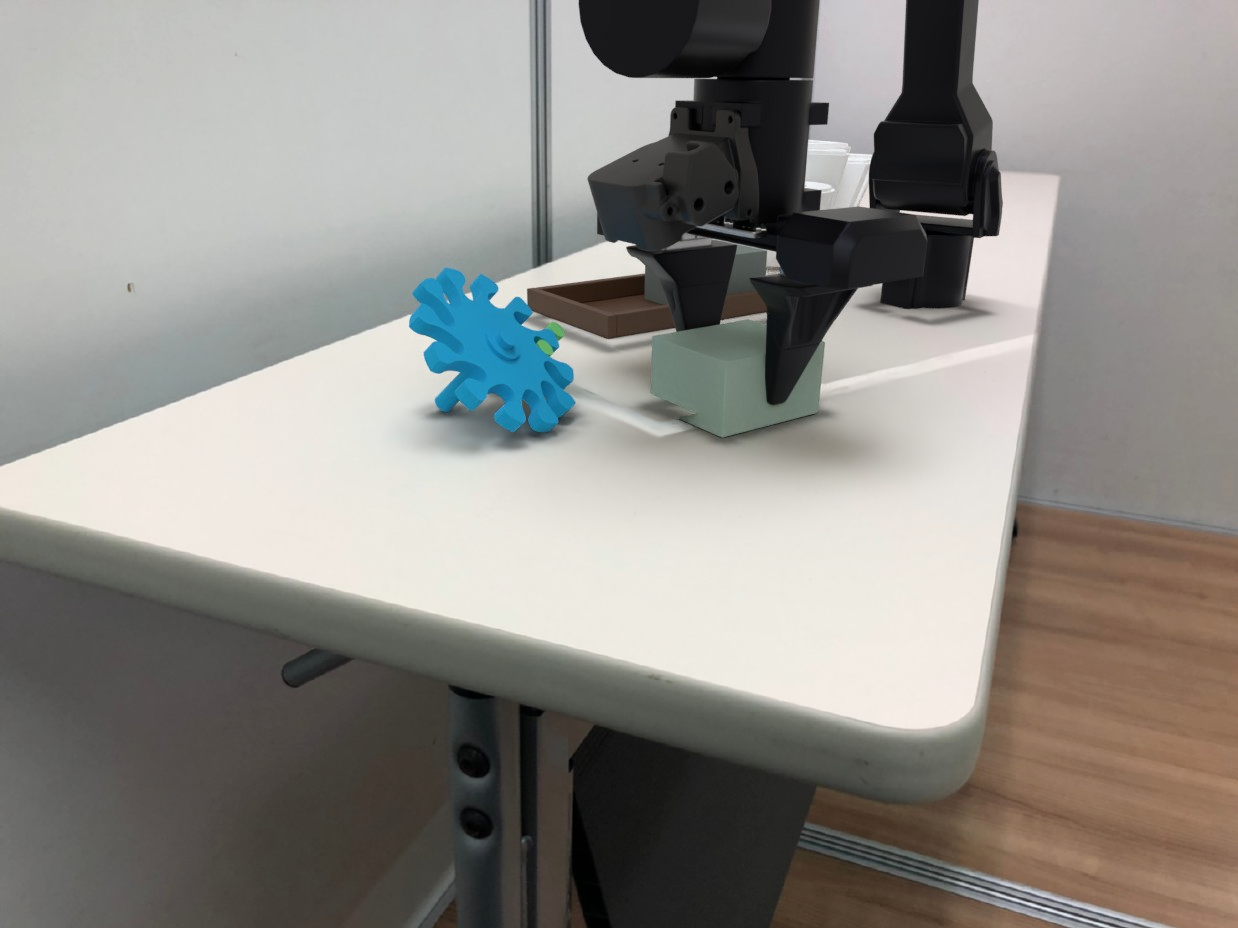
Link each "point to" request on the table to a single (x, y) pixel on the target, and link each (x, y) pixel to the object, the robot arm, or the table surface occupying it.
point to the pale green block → (727, 378)
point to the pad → (744, 268)
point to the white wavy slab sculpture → (832, 178)
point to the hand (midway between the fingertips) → (734, 388)
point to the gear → (491, 352)
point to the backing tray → (620, 306)
